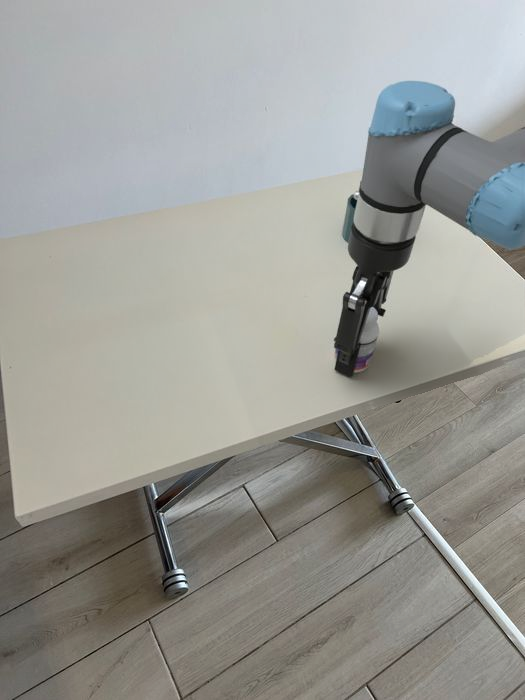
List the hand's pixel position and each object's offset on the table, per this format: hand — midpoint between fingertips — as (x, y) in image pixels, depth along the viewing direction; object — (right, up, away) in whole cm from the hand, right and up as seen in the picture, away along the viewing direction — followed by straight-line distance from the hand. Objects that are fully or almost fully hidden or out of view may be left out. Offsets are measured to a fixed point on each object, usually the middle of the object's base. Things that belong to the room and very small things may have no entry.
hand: (352, 358), depth 79 cm
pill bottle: (0, 0, 0) cm, 1 cm away
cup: (+5, +23, +22) cm, 32 cm away
